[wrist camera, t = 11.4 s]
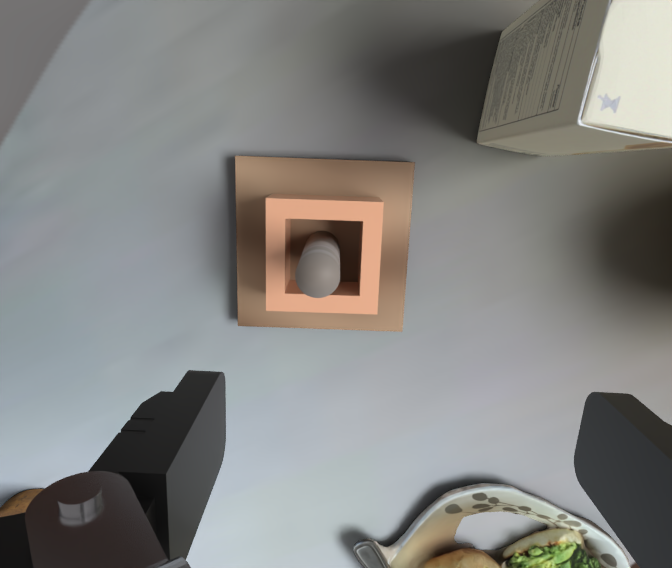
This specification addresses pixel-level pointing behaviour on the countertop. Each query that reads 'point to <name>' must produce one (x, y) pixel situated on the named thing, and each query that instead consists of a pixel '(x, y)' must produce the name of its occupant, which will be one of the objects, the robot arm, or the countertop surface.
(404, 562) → the avocado toast plate
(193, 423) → the robot arm
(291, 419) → the countertop surface
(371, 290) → the ring
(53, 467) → the countertop surface
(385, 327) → the post stand
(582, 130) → the skincare box
